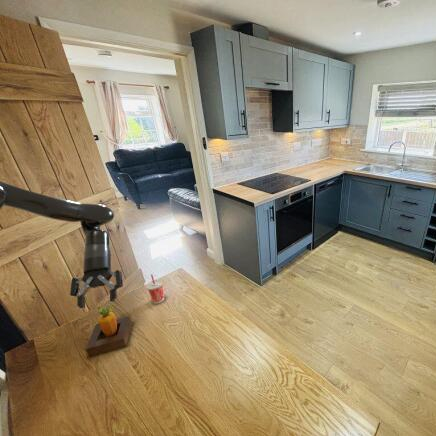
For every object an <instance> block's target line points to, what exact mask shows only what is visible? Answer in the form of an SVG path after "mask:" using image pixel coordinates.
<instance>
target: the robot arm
mask: <svg viewBox="0 0 436 436" xmlns="http://www.w3.org/2000/svg"><path fill="white" fill-rule="evenodd" d="M4 207H8V208H9V207H10V208H14V209H18V210H21V211H25V212H27V213H31V214H34V215H36V216H40V217H44V218H47V219H51V220H56V221H62V222H67V223H68V222H69V223H79V222H80V226H81V229H82V232H83V235H84V251H83V276H82V277H73V278H71V284H70V292H69V295H70V296H71V297H77V298H76V299H77V305H76V306H77V307H78V308H79V309H84V308H86V294H87V293H88V292H90V291H91V289H92V288H93V289H96V288H98V287H105V286H106V287H108V288H109V289H110V290H109V301H110V302H115V301H116V300H117V299H118V294H117V293H118V292H117V291H118V289H120V288H123V286H124V283H123V281H124V280H123V274H122V271H121V270H119V269H116V270H115V271H112V259H111V258H112V254H111V253H112V252H111V247H110V246H111V245H110V243H111V242H110V233H109V232H108V231H107V230H105V229H101V227H102V226H105V225H107V224H109V223H111V222H113V220H114V218H115V213H114V211H113V210H112V209H111V208H110V207H109V206H106V205H103V204H98V203H80V202H76V201H71V200H68V199H63V198H59V197H55V196H51V195H47V194H43V193H39V192H35V191H32V190H28V189H25V188H21V187H18V186H15V185H12V184H9V183H6V182H3V181H1V180H0V211H1V210H2V209H3V208H4ZM112 277H114V278H115V284H114V283H113V282H112V281H111V280H110V279H111V278H112ZM82 283H84V284H83V285H82V286H81V288H80V285H81V284H82Z"/></svg>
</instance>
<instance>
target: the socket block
mask: <svg viewBox="0 0 436 436" xmlns="http://www.w3.org/2000/svg"><path fill="white" fill-rule="evenodd" d="M116 321H117V331H116V335H115V336H113V337H106V335H105V334H104V333H103V332H102V330H101V328H100V326H99V323H96V324H95V325H94V327H93V329H92V332H91V335H90V337H89V339H88V342H87V344H86V346H85V352H86V353H87V355H88V358H91V357H95V356H99V355H101V354H104V353H109V352H111V351H115V350H119V349H123V348H126V347H127V346H128V342H129V338H130V334H131V330H132V326H133V321H132V319H131V316H130V315H128V316H125V317H120V318H116ZM105 337H106V338H105Z"/></svg>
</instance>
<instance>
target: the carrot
mask: <svg viewBox="0 0 436 436" xmlns="http://www.w3.org/2000/svg"><path fill="white" fill-rule="evenodd" d="M110 307H111V304H107V307H106V310H105V309H104V308H99V310H98V313H99V314H100V315H99V317H98V321H97V324H99V326H100V328H101V330H102V332H103V333H104V334H105V337H106V338H109V337H113V336H117V332H116V331H117V321H116V319H117V316H116V313H115V312H112V311H113V310H112V309H110Z"/></svg>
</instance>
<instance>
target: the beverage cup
mask: <svg viewBox="0 0 436 436" xmlns="http://www.w3.org/2000/svg"><path fill="white" fill-rule="evenodd" d="M150 276H151V281H149V282H147V284H146V285H145V287H146V290H147V291H148V294H149V296H150V298H151V300H152V303H153V304H154V305H157V304H161V303H163V302H164V300H165V294H164V287H163V281H162V280H161V279H154V275H153V274H150Z"/></svg>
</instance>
